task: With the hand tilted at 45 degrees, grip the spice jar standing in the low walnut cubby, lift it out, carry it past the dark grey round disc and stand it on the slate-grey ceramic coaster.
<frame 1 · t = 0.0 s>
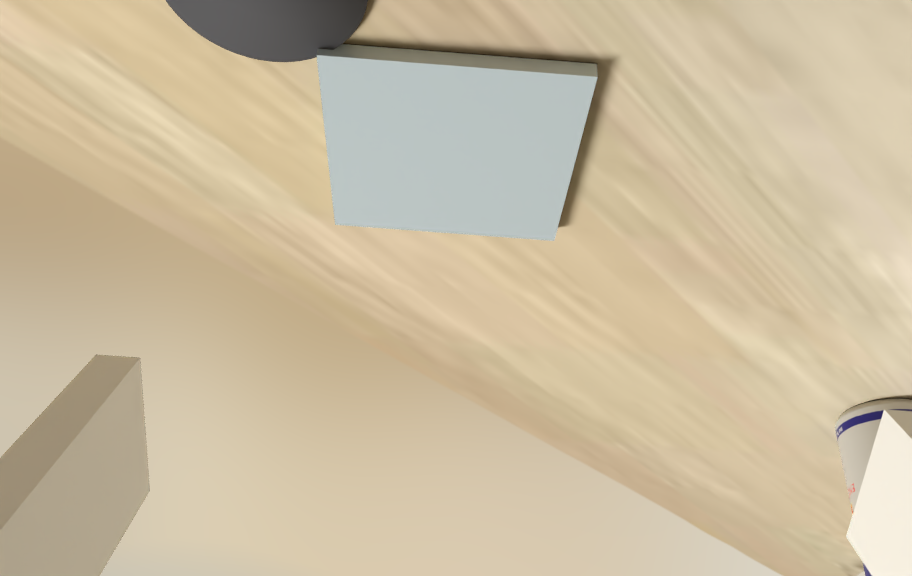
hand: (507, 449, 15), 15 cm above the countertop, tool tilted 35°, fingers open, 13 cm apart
coaster: (451, 147, 31), on the countertop
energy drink: (882, 413, 48), on the countertop
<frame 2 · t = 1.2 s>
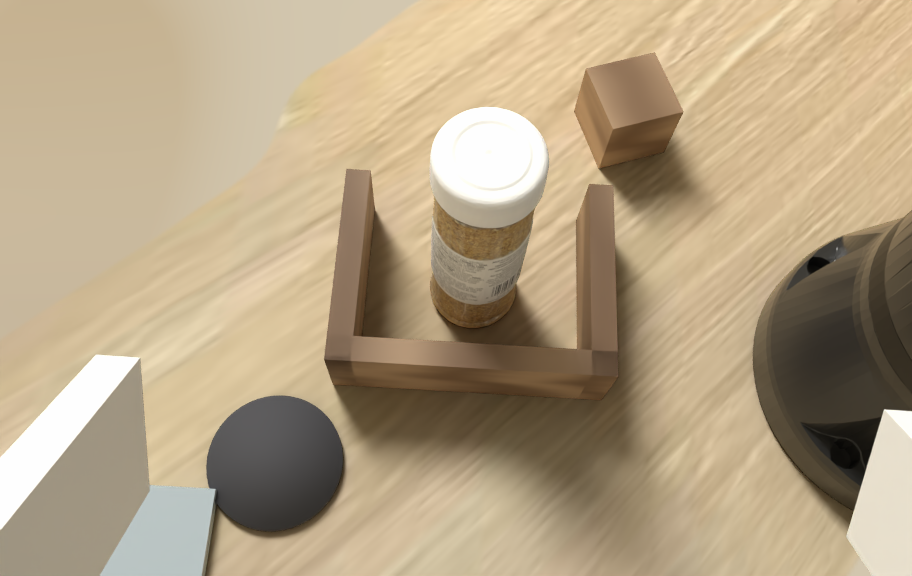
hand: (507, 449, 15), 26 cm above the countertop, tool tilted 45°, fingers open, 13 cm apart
spice jar: (471, 292, 44), on the countertop
walnut cube: (618, 132, 48), on the countertop
dark grey round disc: (275, 462, 40), on the countertop
cubby: (471, 299, 44), on the countertop
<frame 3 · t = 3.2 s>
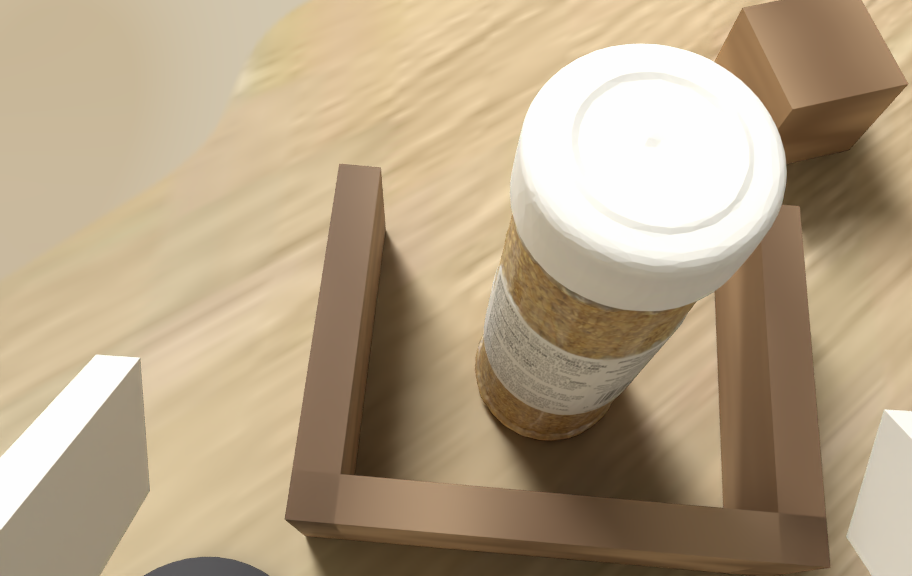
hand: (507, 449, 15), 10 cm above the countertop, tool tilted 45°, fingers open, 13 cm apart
spice jar: (543, 375, 26), on the countertop
walnut cube: (774, 116, 30), on the countertop
cubby: (543, 388, 26), on the countertop
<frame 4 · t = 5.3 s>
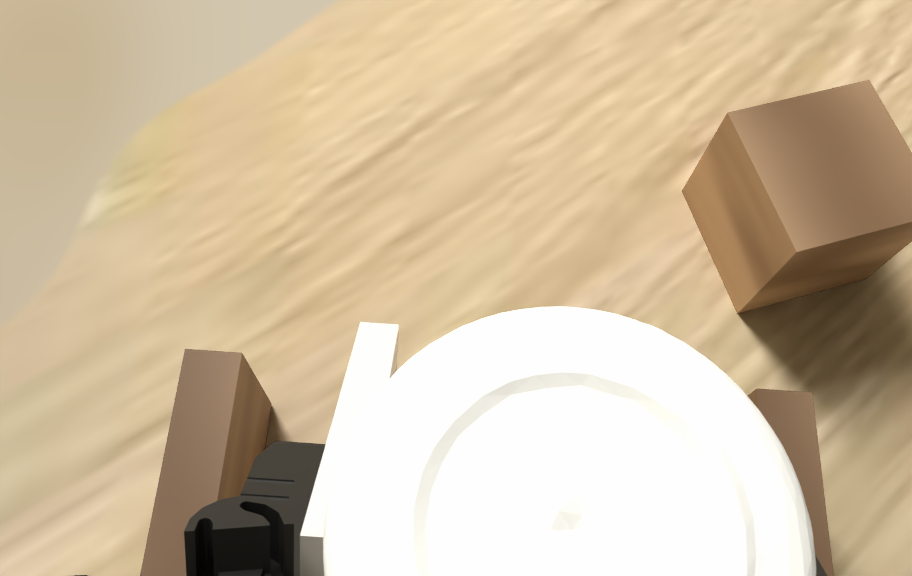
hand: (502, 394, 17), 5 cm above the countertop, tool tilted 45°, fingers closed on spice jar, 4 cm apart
walnut cube: (771, 235, 24), on the countertop
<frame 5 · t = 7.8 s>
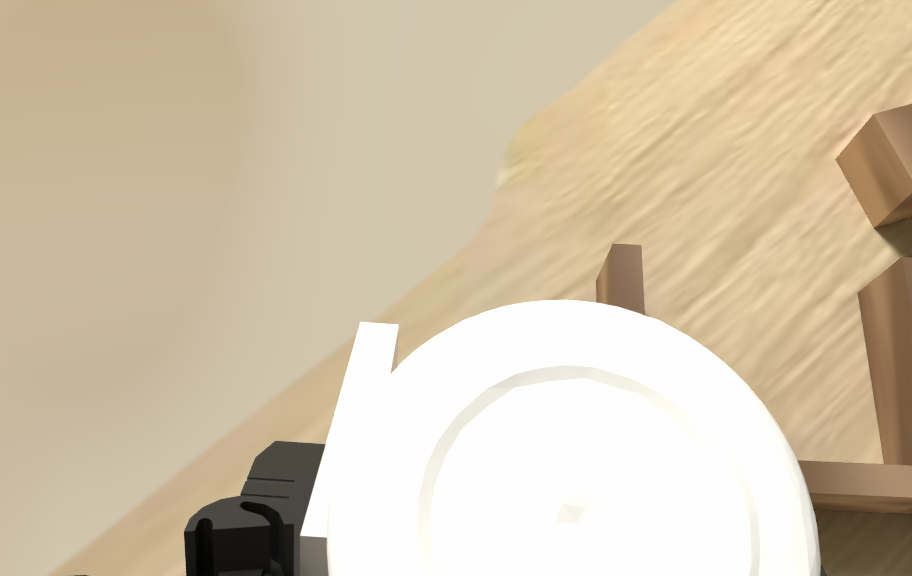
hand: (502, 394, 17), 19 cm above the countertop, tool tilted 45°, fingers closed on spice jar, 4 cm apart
walnut cube: (889, 183, 41), on the countertop
cubby: (750, 391, 37), on the countertop
when the fingers open (6 cm above the countertop, at t = 10.5 s): spice jar drops 1 cm, resting on coaster.
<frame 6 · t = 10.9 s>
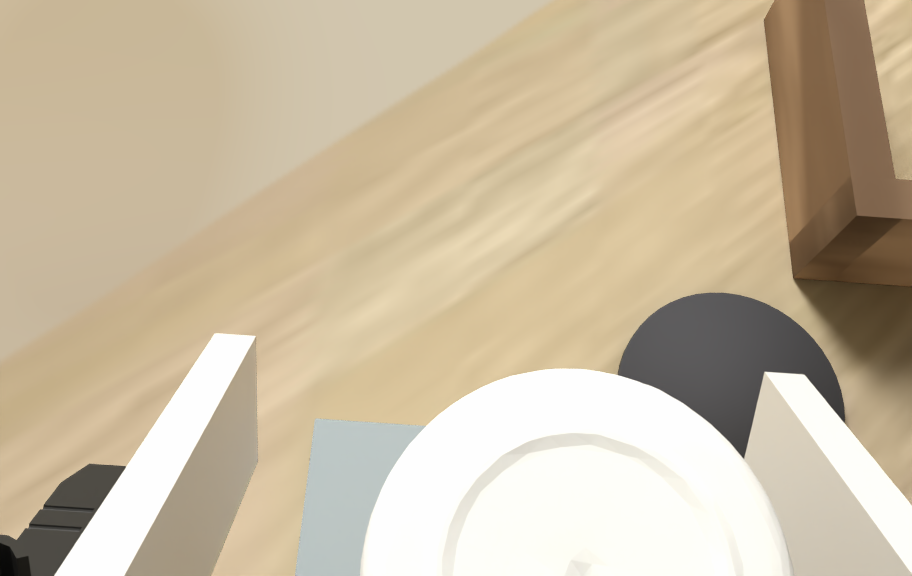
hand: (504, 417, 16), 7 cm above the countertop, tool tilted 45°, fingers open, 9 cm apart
dark grey round disc: (727, 400, 24), on the countertop
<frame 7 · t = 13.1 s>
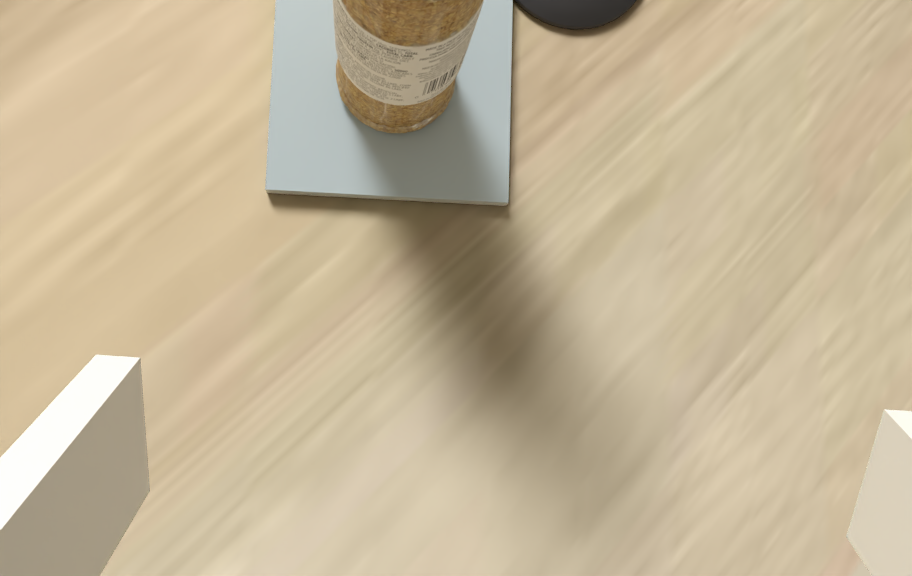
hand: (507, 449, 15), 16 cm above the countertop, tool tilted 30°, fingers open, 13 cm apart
coaster: (392, 84, 32), on the countertop
spice jar: (394, 81, 32), resting on coaster
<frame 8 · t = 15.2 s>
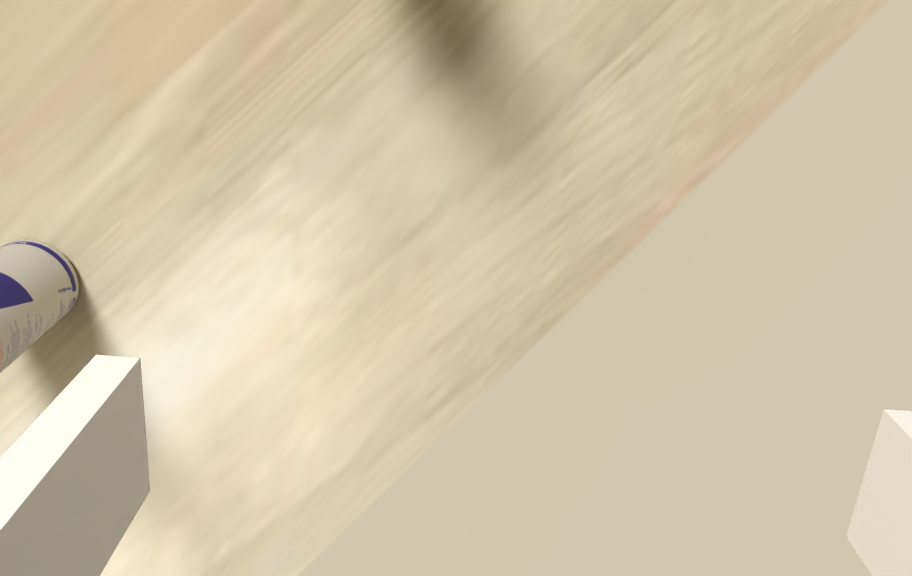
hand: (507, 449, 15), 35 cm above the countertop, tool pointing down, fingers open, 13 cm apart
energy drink: (38, 277, 51), on the countertop
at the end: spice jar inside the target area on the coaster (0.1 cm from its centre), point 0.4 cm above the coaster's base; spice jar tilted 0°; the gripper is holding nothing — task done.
